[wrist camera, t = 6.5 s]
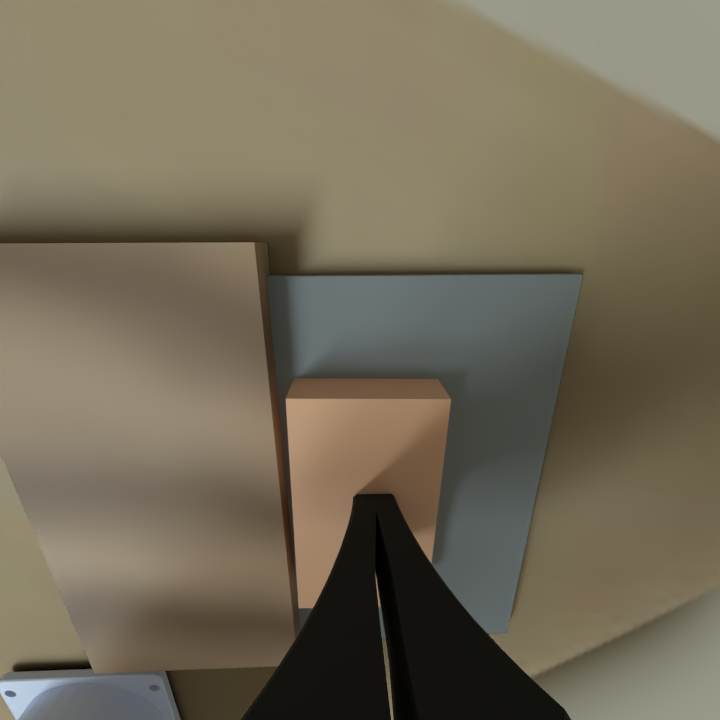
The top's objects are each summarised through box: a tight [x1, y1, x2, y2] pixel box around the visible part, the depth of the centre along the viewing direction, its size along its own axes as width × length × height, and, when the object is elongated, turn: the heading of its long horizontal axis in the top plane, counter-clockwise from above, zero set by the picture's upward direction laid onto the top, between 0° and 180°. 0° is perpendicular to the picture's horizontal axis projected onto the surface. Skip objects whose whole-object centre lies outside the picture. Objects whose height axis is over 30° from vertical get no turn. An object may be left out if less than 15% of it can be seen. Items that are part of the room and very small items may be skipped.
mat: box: [267, 273, 583, 638], centre depth 13 cm, size 17×10×1 cm, turn 0°
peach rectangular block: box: [286, 378, 451, 608], centre depth 12 cm, size 9×5×2 cm, turn 179°
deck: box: [0, 242, 300, 674], centre depth 13 cm, size 18×9×2 cm, turn 0°
